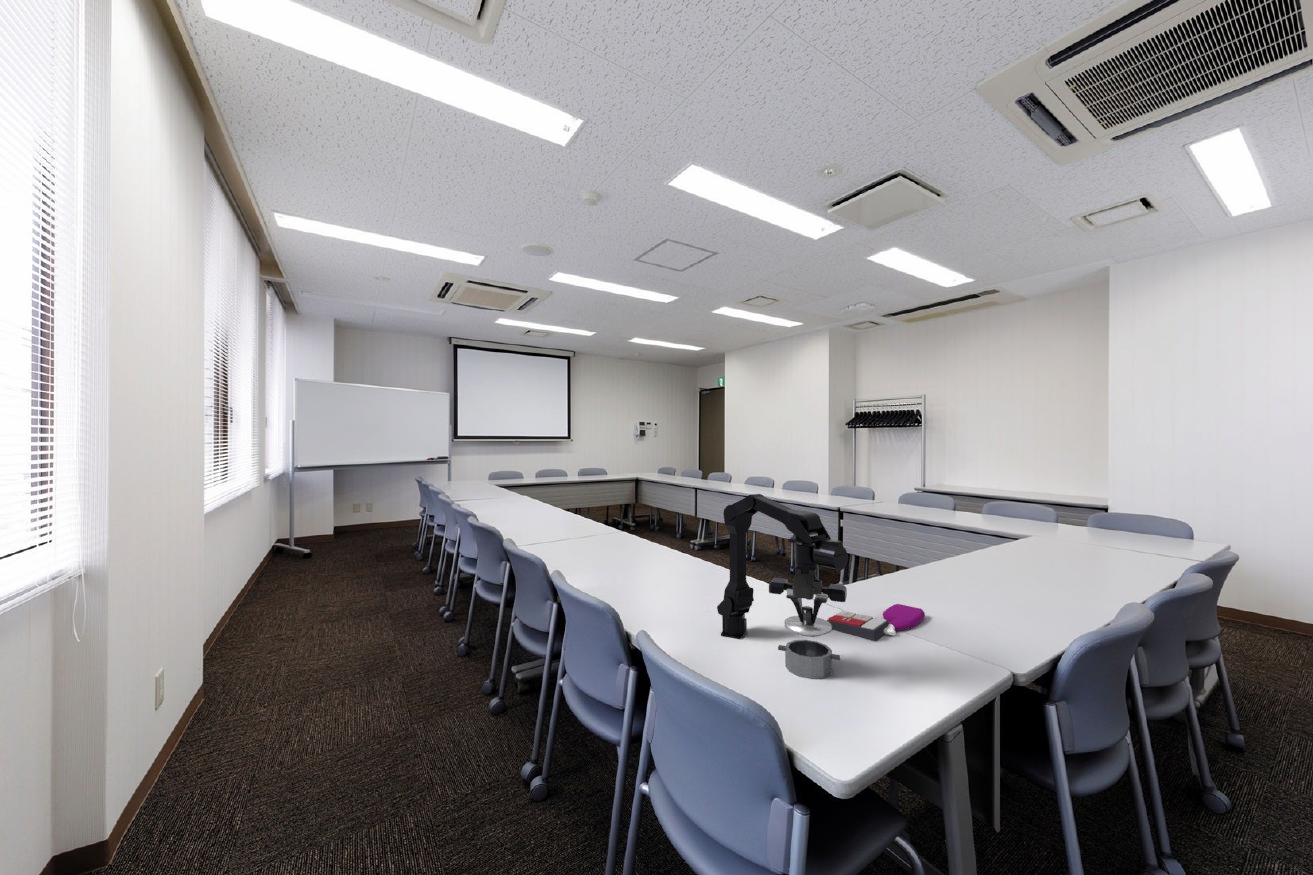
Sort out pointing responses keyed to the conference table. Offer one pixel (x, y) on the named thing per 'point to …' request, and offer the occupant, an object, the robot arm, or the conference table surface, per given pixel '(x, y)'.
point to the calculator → (859, 625)
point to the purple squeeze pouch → (902, 618)
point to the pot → (808, 658)
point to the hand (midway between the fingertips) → (807, 622)
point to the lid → (808, 624)
